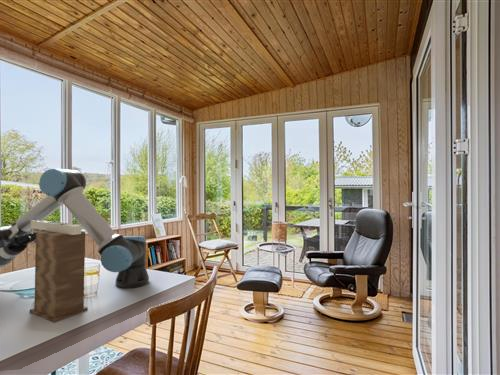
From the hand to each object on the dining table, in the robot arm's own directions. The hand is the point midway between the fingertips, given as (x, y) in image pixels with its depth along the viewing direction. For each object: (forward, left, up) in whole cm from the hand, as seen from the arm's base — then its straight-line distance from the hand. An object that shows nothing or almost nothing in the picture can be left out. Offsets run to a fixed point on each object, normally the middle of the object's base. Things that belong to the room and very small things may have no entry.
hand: (36, 225), depth 117 cm
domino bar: (-10, +7, -1) cm, 12 cm away
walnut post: (-13, +10, -31) cm, 35 cm away
